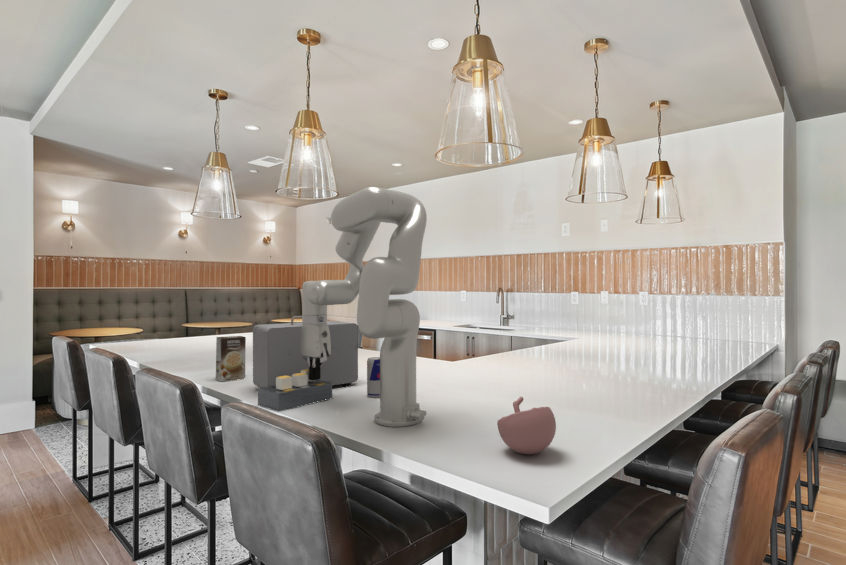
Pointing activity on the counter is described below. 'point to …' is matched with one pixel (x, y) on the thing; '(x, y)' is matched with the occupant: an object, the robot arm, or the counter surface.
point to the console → (294, 395)
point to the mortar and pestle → (528, 429)
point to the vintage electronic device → (283, 354)
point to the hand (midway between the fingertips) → (314, 379)
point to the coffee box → (230, 358)
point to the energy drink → (373, 377)
